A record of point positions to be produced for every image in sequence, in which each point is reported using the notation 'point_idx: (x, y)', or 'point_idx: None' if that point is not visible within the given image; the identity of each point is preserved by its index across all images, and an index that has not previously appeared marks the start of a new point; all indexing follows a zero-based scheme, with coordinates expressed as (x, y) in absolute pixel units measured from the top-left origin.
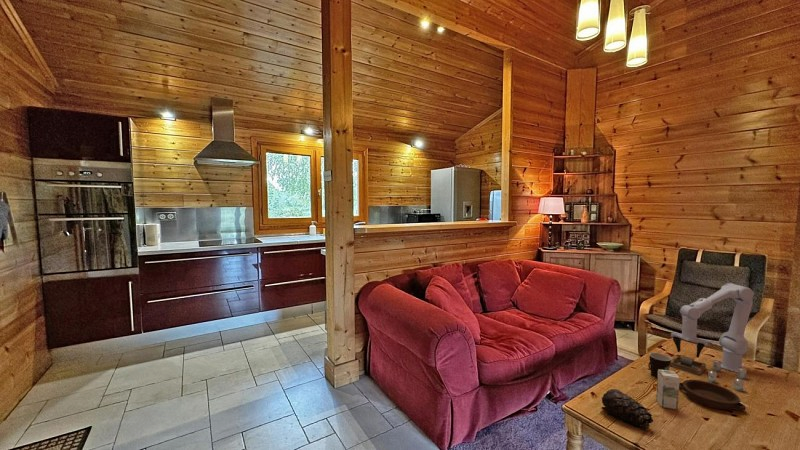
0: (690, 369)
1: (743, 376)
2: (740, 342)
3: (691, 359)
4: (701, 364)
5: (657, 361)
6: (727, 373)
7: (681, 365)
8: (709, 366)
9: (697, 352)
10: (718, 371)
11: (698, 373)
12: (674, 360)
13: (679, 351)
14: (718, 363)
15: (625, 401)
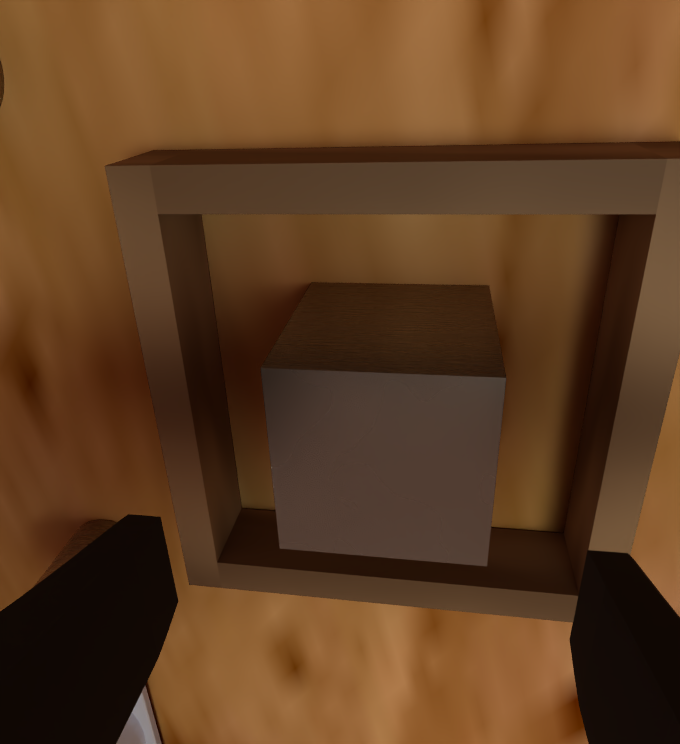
0: (272, 161)
1: None
2: None
3: (307, 484)
4: (237, 550)
5: None
6: (22, 559)
7: (449, 173)
8: (214, 622)
9: (32, 626)
10: (77, 532)
11: (147, 155)
12: (622, 371)
13: (585, 591)
14: None
15: None
